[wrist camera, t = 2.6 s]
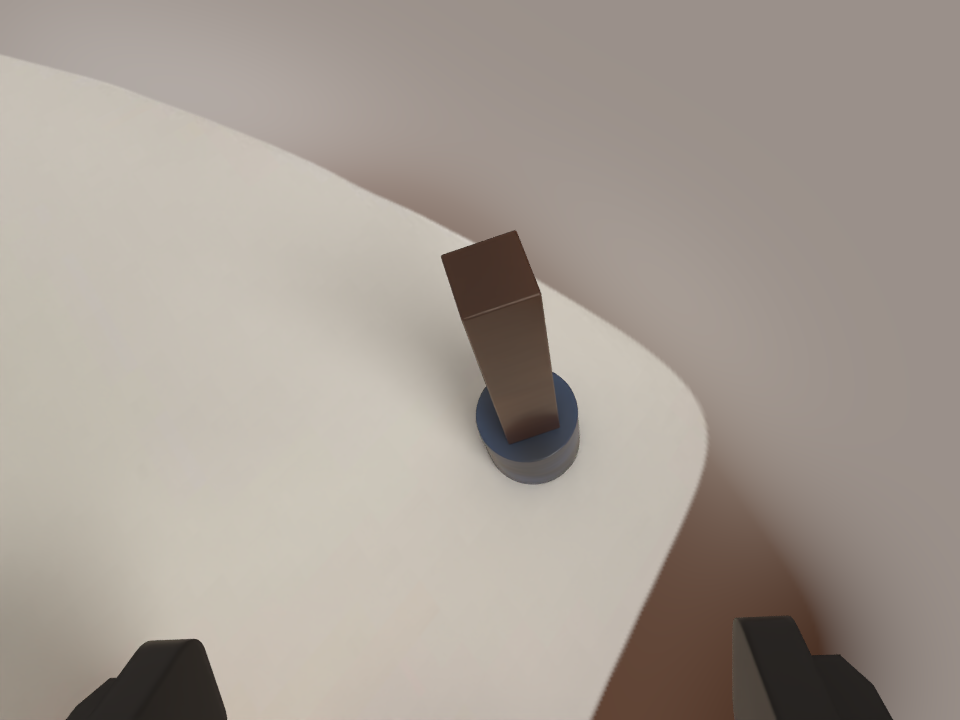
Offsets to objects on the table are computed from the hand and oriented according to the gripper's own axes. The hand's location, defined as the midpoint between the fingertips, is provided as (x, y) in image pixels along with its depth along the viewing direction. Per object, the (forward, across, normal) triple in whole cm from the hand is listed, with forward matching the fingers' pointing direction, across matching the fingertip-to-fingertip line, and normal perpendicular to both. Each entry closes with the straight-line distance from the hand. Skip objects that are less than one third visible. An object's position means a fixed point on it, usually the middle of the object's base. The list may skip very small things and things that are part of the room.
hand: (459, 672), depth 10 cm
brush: (+23, 0, +8) cm, 24 cm away
